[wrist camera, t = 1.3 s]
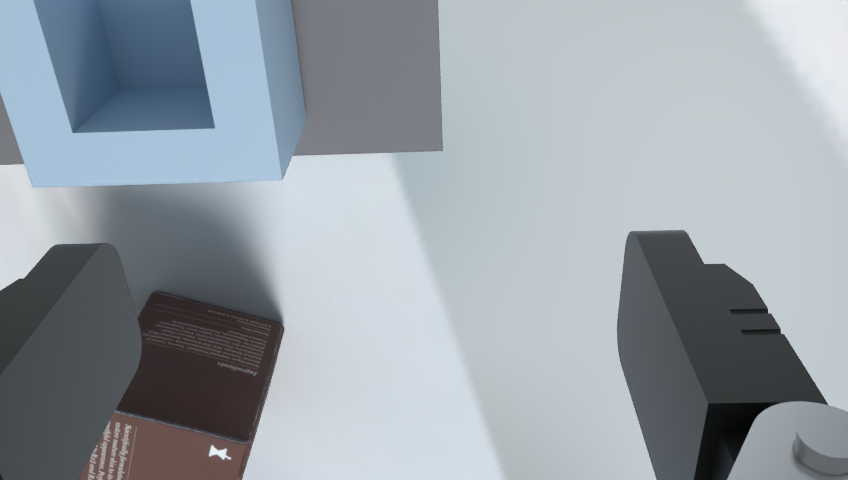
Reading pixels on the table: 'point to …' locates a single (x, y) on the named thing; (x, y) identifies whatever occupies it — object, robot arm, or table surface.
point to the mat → (354, 78)
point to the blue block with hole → (151, 90)
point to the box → (189, 395)
